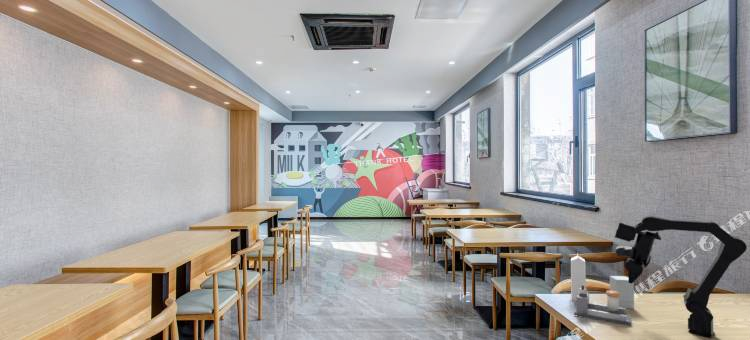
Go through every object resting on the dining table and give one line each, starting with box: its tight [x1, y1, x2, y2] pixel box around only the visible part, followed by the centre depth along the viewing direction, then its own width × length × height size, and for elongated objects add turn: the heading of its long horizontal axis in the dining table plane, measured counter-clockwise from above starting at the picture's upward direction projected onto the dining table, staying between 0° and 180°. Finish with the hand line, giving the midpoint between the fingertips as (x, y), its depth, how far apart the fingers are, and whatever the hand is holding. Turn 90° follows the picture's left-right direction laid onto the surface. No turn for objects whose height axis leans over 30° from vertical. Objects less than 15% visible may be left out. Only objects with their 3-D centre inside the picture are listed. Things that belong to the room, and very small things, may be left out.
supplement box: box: [609, 275, 635, 309], centre depth 170 cm, size 7×7×13 cm
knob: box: [605, 289, 620, 314], centre depth 155 cm, size 5×6×9 cm
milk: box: [570, 252, 587, 302], centre depth 179 cm, size 6×6×22 cm
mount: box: [573, 291, 632, 327], centre depth 157 cm, size 20×10×8 cm, turn 57°
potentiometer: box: [579, 285, 588, 296], centre depth 161 cm, size 3×3×4 cm
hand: (632, 279), depth 155 cm, fingers open, 9 cm apart
